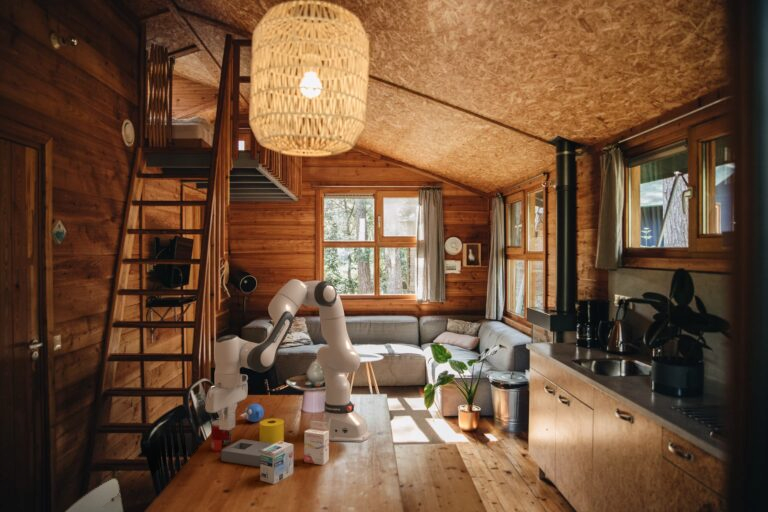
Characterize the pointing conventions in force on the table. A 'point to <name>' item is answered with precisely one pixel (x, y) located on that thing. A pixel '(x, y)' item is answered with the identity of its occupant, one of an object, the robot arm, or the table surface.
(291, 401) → the table surface
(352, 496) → the table surface
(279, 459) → the light bulb box
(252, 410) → the blue mole toy
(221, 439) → the canned food
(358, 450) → the table surface
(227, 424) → the square peg
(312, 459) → the ink cartridge box
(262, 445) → the socket block
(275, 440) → the tape roll
